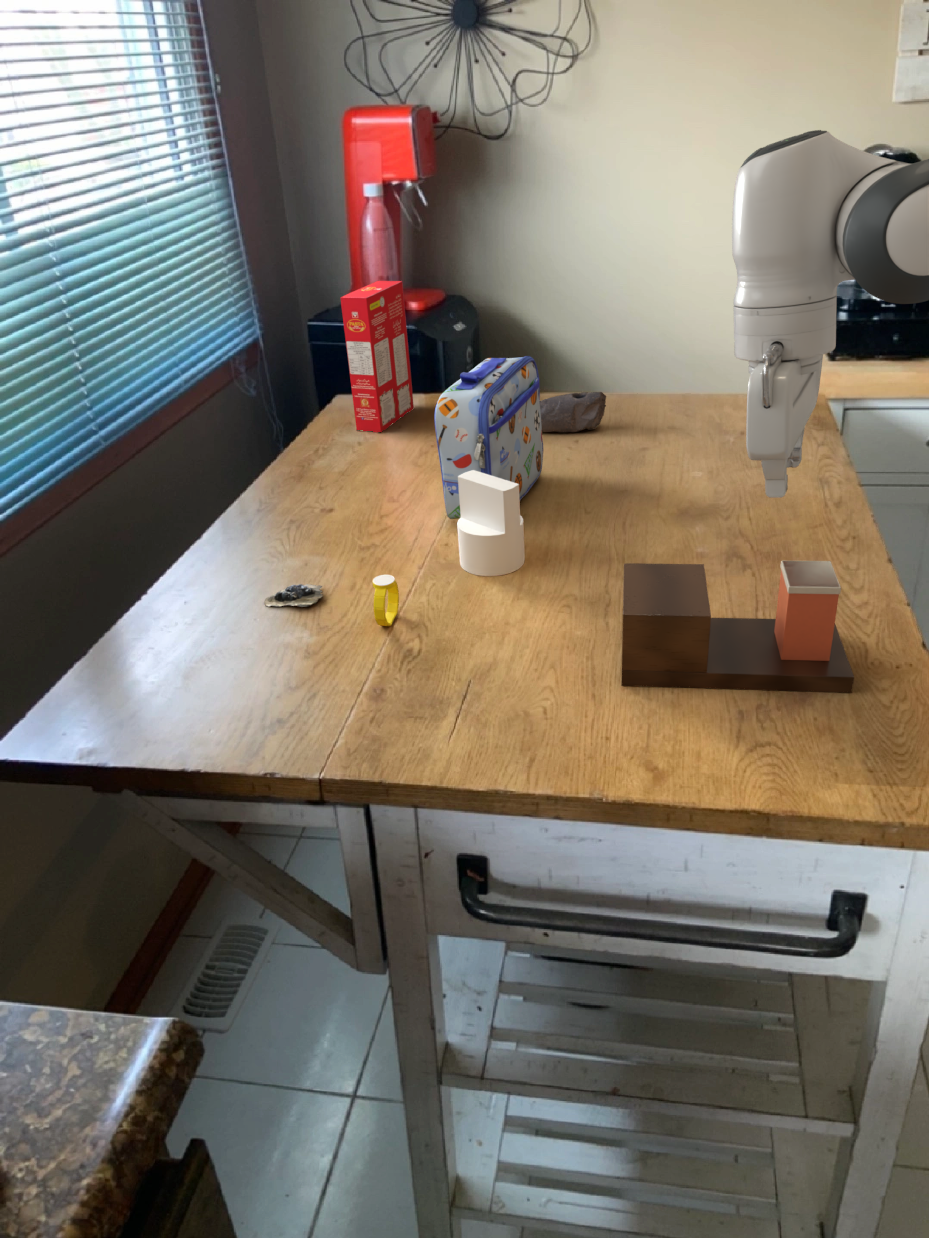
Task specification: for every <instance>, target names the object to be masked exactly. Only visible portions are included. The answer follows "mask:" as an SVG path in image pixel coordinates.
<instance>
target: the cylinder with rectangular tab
mask: <svg viewBox="0 0 929 1238" xmlns="http://www.w3.org/2000/svg"><path fill="white" fill-rule="evenodd" d="M458 487H459V501H460V515H461V518H460V519H457V523H456V528H457V529H456V530H457V540H458V542H457V543H458V554H459V565H460V568H462V570H463V571H464V572H467V573H468V574H471V575H474V576H481V577H499V576H504V575H507V574H508V575H509V574H511V573H513V572H516V571H518V570H519V569H521V568H522V567H523V565H524V564H525V561H526V560H525V559H526V557H525V553H526V552H525V531H524V530H525V529H524V518H523V516H522V515H521V505H520V504H521V503H520V502H521V500H519V484H517V483H514V482H511V481H507V480H504V479H501V478H498V477H495V476H491V475H488V474H485V473H482V472H478V471H475V470H471V471H468V472H465V473H463V474H461V475H459V476H458Z"/></svg>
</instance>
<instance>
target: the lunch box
mask: <svg viewBox="0 0 929 1238" xmlns="http://www.w3.org/2000/svg"><path fill="white" fill-rule="evenodd" d="M459 378H460V379H458V380H456V381H455V382H454V383H452V385H450V386H449V387H448V388H446V389H445V390H444V391H443V392H442V393H441V394H440V396H439V397H438V400H437V401H436V405H435V409H434V416H433V417H434V429H435V438H436V439H435V440H436V446H437V447H436V448H437V454H438V460H439V467H440V474H441V482H442V491H443V492H442V493H443V500H444V507H445V512H446V515H447V518H449V519H450V520H459V519H460V518H461V515H460V501H459V487H458V476H459V475H461V474H463V473H465V472H468V471H471V470H475V471H478V472H482V473H485V474H488V475H491V476H495V477H498V478H501V479H504V480H507V481H511V482H514V483H517V484H519V500H520V501H521V500H522V499H523V498H524V497H525V496H526V495H527V494H528V493H529V491H530V489H532V487H533V486H534V484H535V483H536V482H537V480H538V479H539V477H540V475H541V474H542V470H543V463H544V439H543V432H542V426H541V412H540V401H541V391H540V390H541V389H540V374H539V370H538V365H537V363H536V361H535V359H534V358H533V357H532V356H531V355H525V356H521V357H509V358H508V357H486V358H485V359H484V360H483V361H481V362H480V363H478V364H477V365H476V366H475V367H474V368H472V369H471V370H470V371H468V372H465V371H463V372H460V375H459Z"/></svg>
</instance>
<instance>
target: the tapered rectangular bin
mask: <svg viewBox="0 0 929 1238" xmlns="http://www.w3.org/2000/svg"><path fill="white" fill-rule="evenodd" d="M841 592H842V587H841V584H840V582H839V579H838V577H837V573H836V571H835V569H834V566H833V564H832V561H831V560H781V561H780V578H779V585H778V594H777V603H776V613H775V619H776V620H775V629H774V633H775V637H776V641H777V645H778V649H779V653H780V657H781V660H810V661H829V659H830V653H831V646H832V639H833V632H834V625H836V618H837V611H838V604H839V598H840V595H841V594H842V593H841Z"/></svg>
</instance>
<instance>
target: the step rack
mask: <svg viewBox="0 0 929 1238" xmlns="http://www.w3.org/2000/svg"><path fill="white" fill-rule="evenodd" d="M622 581H623V583H622V584H623V586H622V627H621V628H622V629H621V630H622V632H621V633H622V634H621V635H622V636H621V681H620V682H621V683H620V684H621V686H622V687H653V688H654V687H655V688H680V689H681V688H684V689H685V688H686V689H690V688H691V689H714V690H715V689H716V690H718V689H719V690H747V691H749V690H750V691H752V690H753V691H779V692H780V691H781V692H782V691H783V692H813V693H814V692H815V693H845V694H846V693H847V694H850V693H851V694H852V693H853V688H854V687H853V686H854V681H855V675H854V672H853V669H852V667H851V664H850V661H849V659H848V656H847V654H846V651H845V647H844V645H843V642H842V639H841V636H840V634H839V633H840V632H839V631H838V627H837V625H836V624H835V625H834V632H833V639H832V646H831V653H830V659H829V661H810V660H781V657H780V653H779V649H778V645H777V641H776V637H775V633H774V629H775V620H776V618H755V617H754V618H750V617H748V618H747V617H712V612H711V607H710V606H711V605H710V599H709V592H708V591H709V590H708V585H707V584H708V583H707V577H706V571H705V564H704V563H635V562H634V563H629V562H626V563H625V562H624V563H623V579H622Z"/></svg>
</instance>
